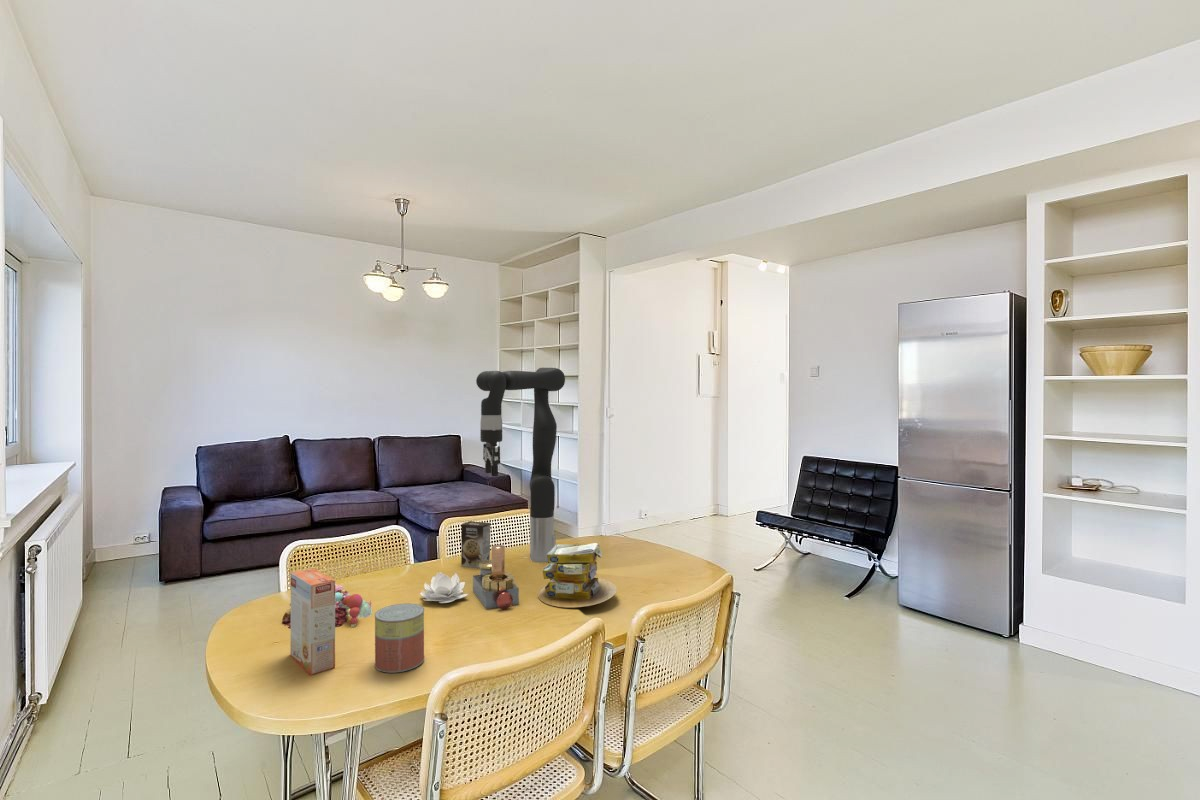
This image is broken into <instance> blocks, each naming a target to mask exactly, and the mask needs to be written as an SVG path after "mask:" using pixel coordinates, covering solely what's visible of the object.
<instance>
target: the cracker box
mask: <svg viewBox="0 0 1200 800" xmlns="http://www.w3.org/2000/svg"><path fill="white" fill-rule="evenodd" d="M335 584H336V579H334V578H332V577H330V576H328V575H327V574H325V573H323V572H321V571H319V570H317V569H316V568H308V569H303V570H298V571H293V572H290V603H291V606H290V609H291V625H290V626H291V629H290V656H291V658H293V659H294V660H295V662H296V663H298V665H300V667H301V668H302V669H303V670H305V672H306V673H307V674H308V675H310V676H312V675H316V674H319V673H322V672H326V671H329V670H332V669H335V668H336V667H335V666H336V627H335V604H336V603H335Z"/></svg>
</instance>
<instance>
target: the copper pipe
mask: <svg viewBox="0 0 1200 800" xmlns="http://www.w3.org/2000/svg"><path fill="white" fill-rule="evenodd" d="M505 547H506V546H505V545H503V544H496V545H492V546H491V560H492V580H503V579H505V573H506V571H505V570H506V569H505V566H506V564H505V563H506V562H505V561H506V556H505V555H506V554H505V552H506V551H505V549H506V548H505Z"/></svg>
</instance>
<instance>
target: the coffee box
mask: <svg viewBox="0 0 1200 800" xmlns="http://www.w3.org/2000/svg"><path fill="white" fill-rule="evenodd" d="M460 526H461V539H460V540H461V544H460V546H461V549H460V551H461V553H460V554H461V555H460V558H461V560H460V562H461V563H460V564H461V567H463V568H470V569H471V568H472V569H478V570H479V569H480V567H479V563H480V562H483V561H488V560H491V522H485V521H484V522H483V521H472V520H471V521H466V522H464V523H461V525H460Z"/></svg>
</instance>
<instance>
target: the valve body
mask: <svg viewBox="0 0 1200 800" xmlns="http://www.w3.org/2000/svg"><path fill="white" fill-rule="evenodd" d="M479 567H480V570H479V571H480V574H476V575H472V592H473V594H474V595H475V596H476V597H477V599H478V601H479V602H480V603H481V604H482V605H483V607H484V608H485V610H489V609H496V608H499V609H500V610H501V609H502V610H507V609H509V608H510V607H511V606H514V605H515V606H517V605H519V602H520V601H519V598H520V597H519V596H520V595H519V593H520V592H519V587H518V585H516V583H515V575H514V574H512V573H509V572H505V579H503V580H492V559H490V560H488V561H483V562H480V563H479Z"/></svg>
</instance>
